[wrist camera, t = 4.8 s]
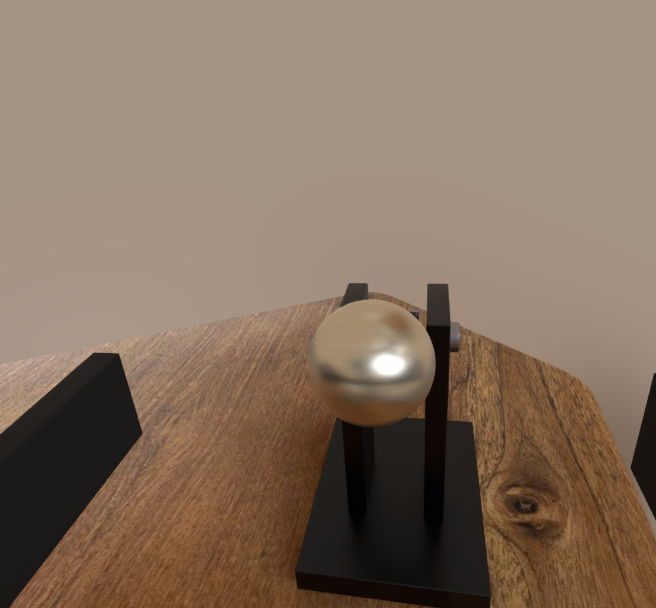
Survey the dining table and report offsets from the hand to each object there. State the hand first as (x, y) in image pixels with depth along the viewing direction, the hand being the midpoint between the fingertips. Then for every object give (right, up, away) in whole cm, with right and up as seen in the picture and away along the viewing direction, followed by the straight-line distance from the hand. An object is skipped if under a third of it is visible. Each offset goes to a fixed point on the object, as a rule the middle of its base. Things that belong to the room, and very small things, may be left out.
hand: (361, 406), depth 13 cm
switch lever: (+1, -1, +6) cm, 7 cm away
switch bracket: (+3, -9, +16) cm, 19 cm away
